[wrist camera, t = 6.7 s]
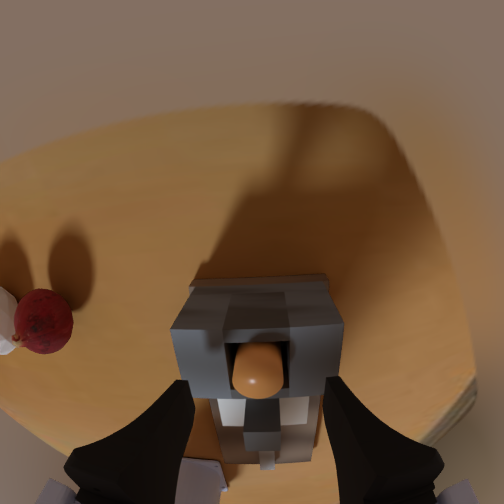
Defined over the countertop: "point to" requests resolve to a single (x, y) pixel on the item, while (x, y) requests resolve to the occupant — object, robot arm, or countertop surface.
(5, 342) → the ball
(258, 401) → the carriage
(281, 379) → the brown egg
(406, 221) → the countertop surface
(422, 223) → the countertop surface
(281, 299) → the rail bed
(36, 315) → the onion
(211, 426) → the countertop surface
